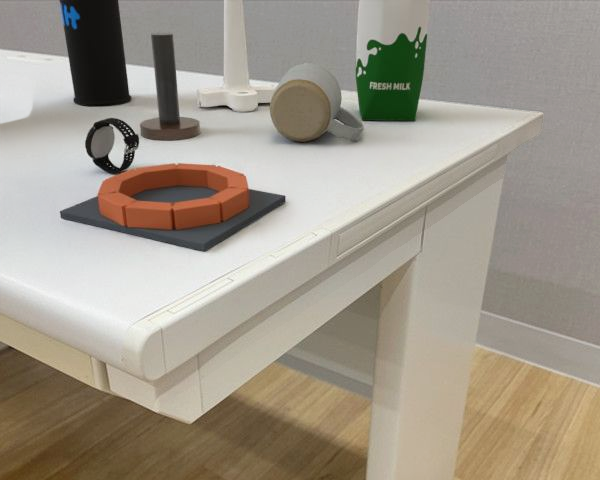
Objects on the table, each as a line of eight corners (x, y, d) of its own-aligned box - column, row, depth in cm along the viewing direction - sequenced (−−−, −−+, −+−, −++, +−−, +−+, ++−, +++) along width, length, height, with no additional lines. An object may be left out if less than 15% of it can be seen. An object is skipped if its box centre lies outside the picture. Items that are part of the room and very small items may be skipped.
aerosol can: (130, 94, 98) (113, -55, 88) (132, 104, 91) (113, -56, 81) (74, 96, 96) (50, -56, 86) (72, 107, 89) (45, -57, 79)
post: (128, 135, 75) (116, 35, 69) (166, 124, 80) (157, 29, 75) (176, 143, 72) (167, 38, 67) (211, 130, 77) (206, 32, 72)
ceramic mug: (266, 143, 72) (266, 71, 68) (279, 126, 79) (279, 61, 75) (360, 148, 70) (365, 76, 67) (364, 131, 78) (369, 65, 74)
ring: (67, 213, 50) (64, 194, 49) (166, 173, 60) (164, 156, 59) (189, 241, 45) (188, 220, 44) (275, 192, 55) (274, 174, 54)
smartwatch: (120, 162, 65) (113, 112, 62) (147, 173, 61) (141, 121, 59) (82, 170, 62) (74, 118, 60) (108, 182, 59) (100, 128, 56)
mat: (60, 218, 51) (59, 211, 50) (156, 178, 60) (156, 172, 60) (204, 251, 45) (203, 243, 45) (285, 202, 54) (285, 195, 54)
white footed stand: (269, 99, 94) (267, -54, 85) (285, 109, 88) (285, -56, 79) (195, 104, 91) (184, -56, 82) (207, 114, 85) (196, -57, 75)
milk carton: (414, 108, 89) (428, -54, 80) (423, 123, 81) (440, -56, 72) (351, 107, 90) (358, -55, 80) (354, 122, 82) (363, -56, 72)
